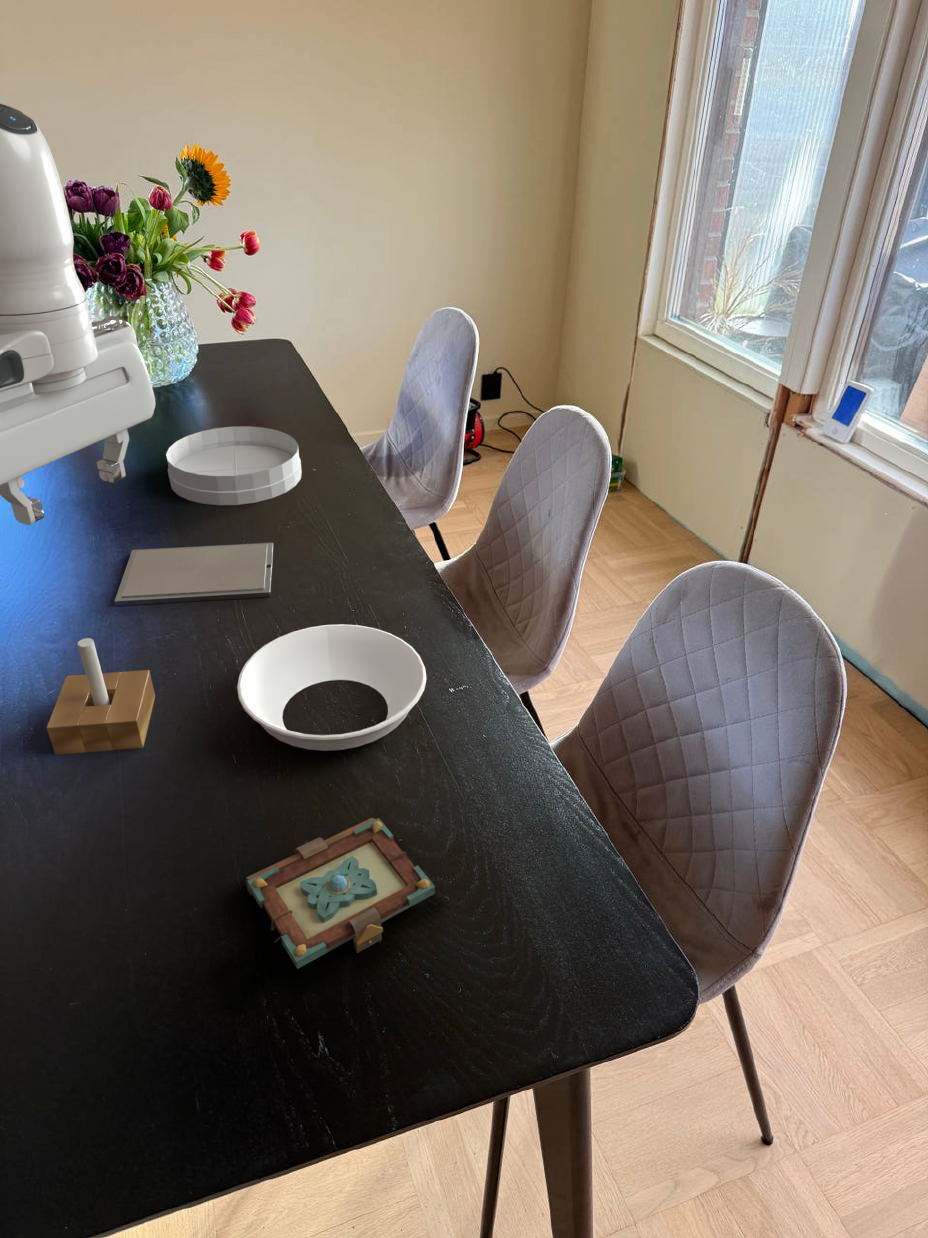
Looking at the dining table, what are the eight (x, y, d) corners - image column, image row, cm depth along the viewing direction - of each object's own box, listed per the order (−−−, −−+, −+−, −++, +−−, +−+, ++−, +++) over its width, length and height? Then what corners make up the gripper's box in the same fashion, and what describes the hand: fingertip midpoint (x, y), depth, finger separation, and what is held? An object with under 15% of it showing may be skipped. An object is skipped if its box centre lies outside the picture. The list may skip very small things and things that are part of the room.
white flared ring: (243, 797, 84) (235, 749, 81) (244, 677, 100) (237, 632, 97) (441, 772, 88) (442, 724, 84) (411, 660, 104) (411, 616, 100)
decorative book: (190, 926, 72) (181, 886, 69) (373, 836, 80) (371, 798, 78) (256, 1054, 63) (248, 1015, 60) (453, 938, 71) (454, 899, 69)
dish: (166, 510, 136) (161, 481, 133) (172, 456, 154) (167, 430, 151) (307, 499, 140) (305, 470, 138) (297, 448, 158) (294, 422, 155)
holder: (58, 765, 87) (46, 727, 85) (76, 711, 94) (66, 675, 92) (145, 757, 88) (136, 720, 86) (157, 705, 96) (149, 669, 93)
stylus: (101, 739, 91) (75, 647, 84) (104, 730, 92) (79, 638, 85) (116, 738, 91) (91, 646, 84) (118, 728, 92) (94, 637, 86)
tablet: (115, 606, 112) (113, 599, 112) (133, 554, 124) (131, 548, 123) (270, 597, 115) (269, 590, 114) (273, 547, 127) (273, 541, 126)
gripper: (102, 306, 76) (131, 451, 84) (-112, 367, 61) (-52, 539, 68) (157, 315, 74) (182, 463, 82) (-50, 381, 59) (5, 556, 66)
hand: (74, 498), depth 75 cm, fingers open, 8 cm apart
